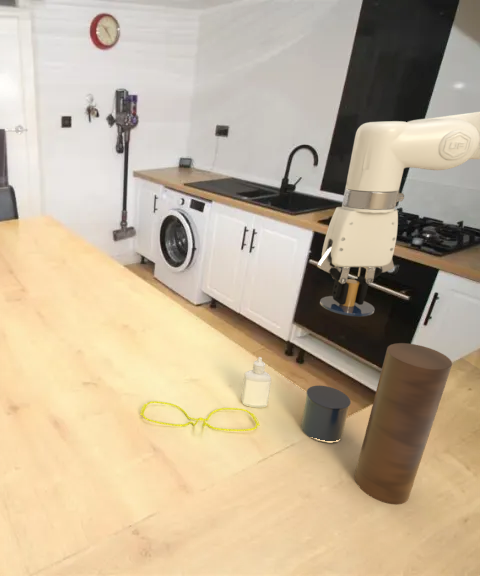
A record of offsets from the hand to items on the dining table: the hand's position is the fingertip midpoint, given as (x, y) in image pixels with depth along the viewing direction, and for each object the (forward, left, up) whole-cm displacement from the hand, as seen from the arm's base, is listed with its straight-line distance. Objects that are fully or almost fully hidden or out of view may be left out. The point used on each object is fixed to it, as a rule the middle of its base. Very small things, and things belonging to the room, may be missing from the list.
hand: (347, 301), depth 75 cm
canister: (0, 0, -29) cm, 29 cm away
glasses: (+25, -2, -29) cm, 39 cm away
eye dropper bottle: (+11, -9, -29) cm, 33 cm away
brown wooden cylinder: (-4, +14, -29) cm, 33 cm away
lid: (0, 0, -1) cm, 1 cm away
